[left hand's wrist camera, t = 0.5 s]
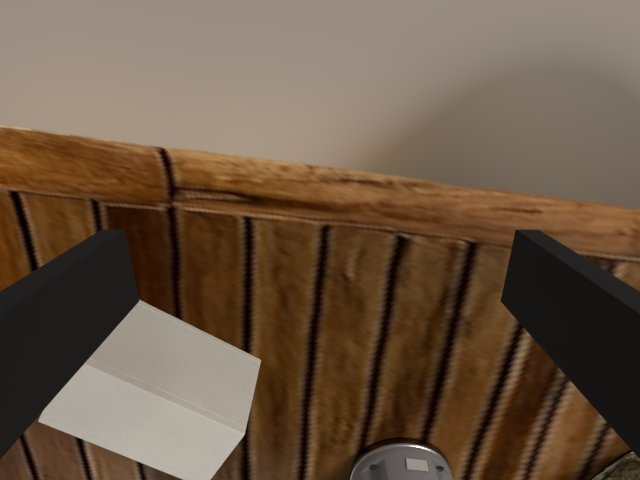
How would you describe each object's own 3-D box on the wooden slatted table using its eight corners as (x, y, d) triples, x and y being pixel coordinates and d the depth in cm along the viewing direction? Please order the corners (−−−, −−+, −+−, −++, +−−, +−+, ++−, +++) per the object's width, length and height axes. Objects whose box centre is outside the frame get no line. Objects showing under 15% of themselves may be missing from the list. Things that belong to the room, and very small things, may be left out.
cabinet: (101, 348, 47) (37, 421, 37) (128, 294, 44) (68, 356, 34) (228, 406, 51) (204, 488, 40) (261, 359, 48) (244, 434, 37)
